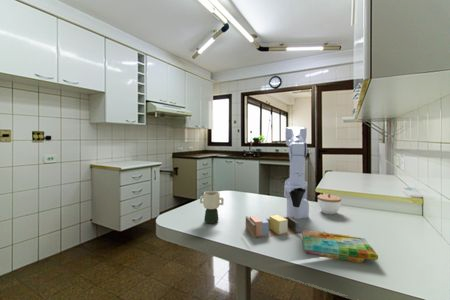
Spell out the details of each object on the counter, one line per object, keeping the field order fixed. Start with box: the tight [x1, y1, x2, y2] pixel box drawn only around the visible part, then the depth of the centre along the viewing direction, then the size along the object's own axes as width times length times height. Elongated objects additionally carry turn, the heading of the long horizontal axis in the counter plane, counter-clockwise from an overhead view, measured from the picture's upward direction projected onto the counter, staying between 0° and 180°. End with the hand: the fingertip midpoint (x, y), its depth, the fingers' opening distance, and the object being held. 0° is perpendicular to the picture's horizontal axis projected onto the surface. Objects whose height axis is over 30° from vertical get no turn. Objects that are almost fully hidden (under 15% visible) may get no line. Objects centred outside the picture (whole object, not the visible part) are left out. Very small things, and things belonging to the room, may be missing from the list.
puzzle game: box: [301, 229, 379, 263], centre depth 71 cm, size 12×5×20 cm
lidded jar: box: [317, 193, 342, 215], centre depth 109 cm, size 11×11×9 cm
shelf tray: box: [245, 216, 302, 239], centre depth 85 cm, size 21×9×6 cm, turn 103°
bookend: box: [286, 216, 303, 233], centre depth 87 cm, size 4×6×4 cm, turn 13°
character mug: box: [199, 190, 225, 224], centre depth 95 cm, size 11×7×13 cm, turn 75°
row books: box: [249, 215, 269, 237], centre depth 83 cm, size 5×6×6 cm
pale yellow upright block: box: [268, 214, 288, 234], centre depth 85 cm, size 4×6×5 cm, turn 25°
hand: (296, 206), depth 86 cm, fingers closed
